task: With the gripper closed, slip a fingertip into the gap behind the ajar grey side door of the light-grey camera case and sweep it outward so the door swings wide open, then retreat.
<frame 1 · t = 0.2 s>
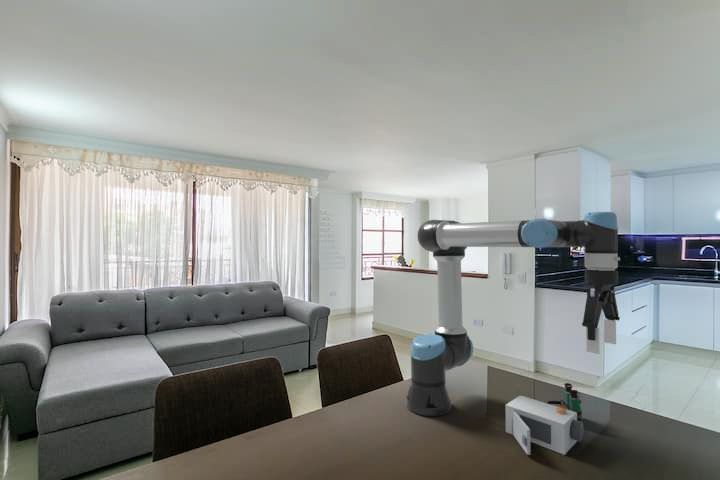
hand: (601, 347, 98), 28 cm above the table, fingers open, 13 cm apart
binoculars: (564, 420, 115), on the table
side door: (519, 431, 100), point 4 cm above the table, hinge at 45.0°
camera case: (540, 436, 105), on the table
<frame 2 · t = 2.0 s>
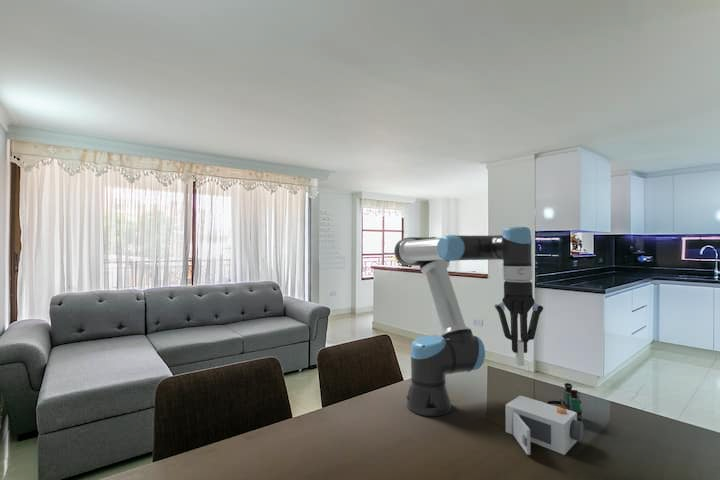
hand: (519, 364, 103), 22 cm above the table, fingers closed
nothing on the table moved.
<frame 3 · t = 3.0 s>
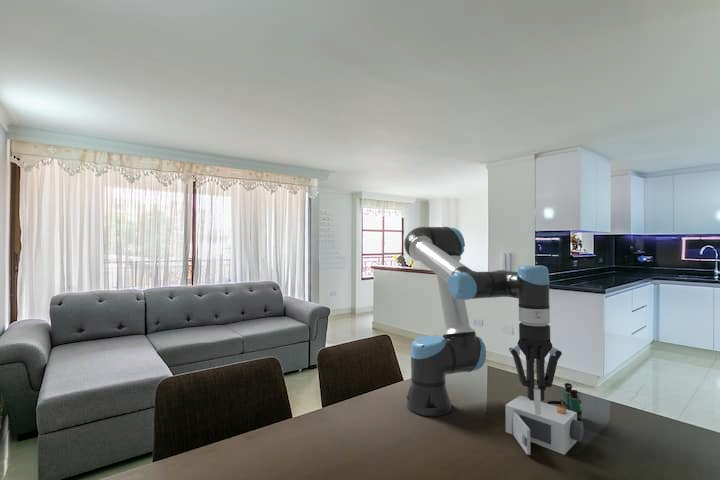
hand: (536, 412, 96), 11 cm above the table, fingers closed
nothing on the table moved.
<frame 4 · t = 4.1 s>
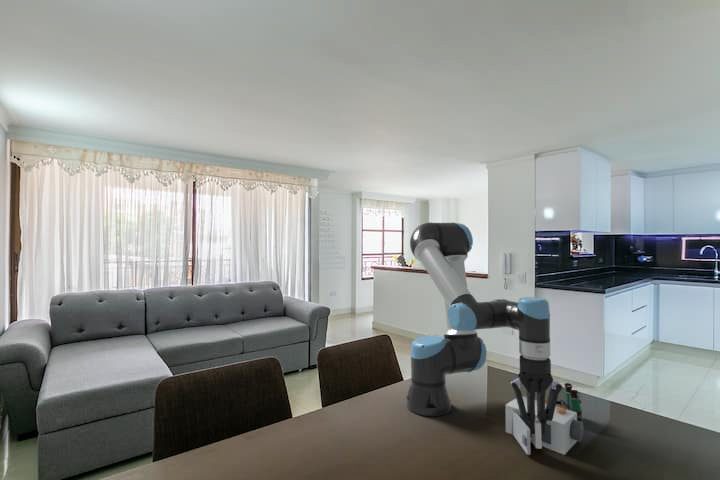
hand: (536, 445, 96), 2 cm above the table, fingers closed
side door: (519, 431, 100), point 4 cm above the table, hinge at 45.0°, touching gripper
everything else where it was.
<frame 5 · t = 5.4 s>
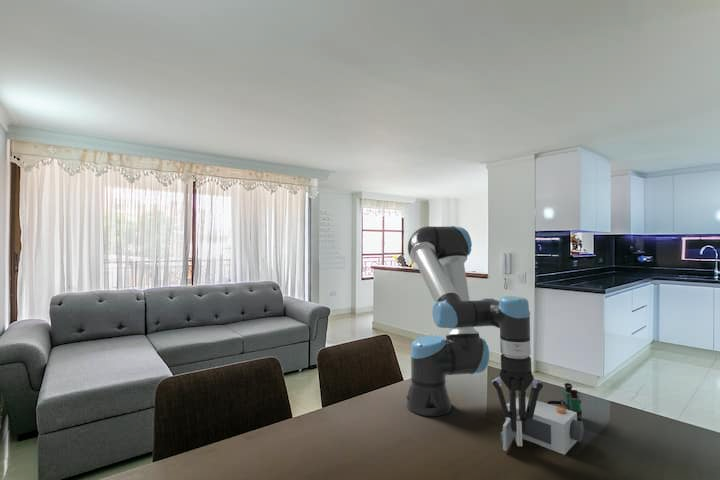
hand: (518, 443, 97), 2 cm above the table, fingers closed
side door: (508, 429, 101), point 4 cm above the table, hinge at 78.7°, touching gripper
everything else where it was.
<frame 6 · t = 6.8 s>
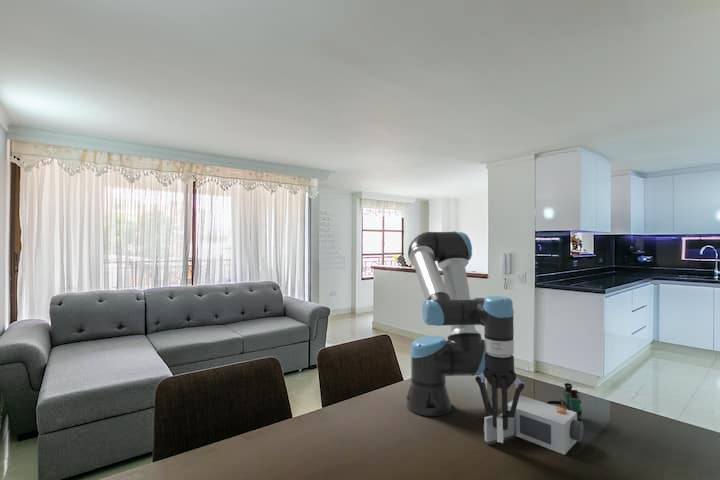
hand: (500, 440, 99), 2 cm above the table, fingers closed
side door: (500, 425, 103), point 4 cm above the table, hinge at 111.3°
everything else where it was.
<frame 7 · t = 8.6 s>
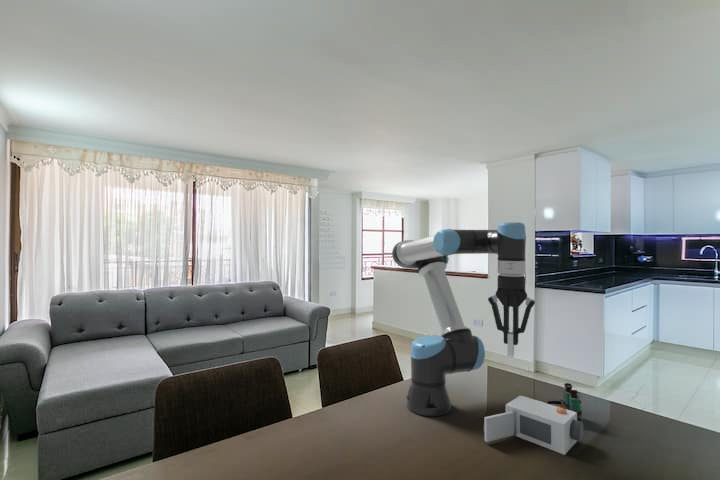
hand: (510, 355, 106), 23 cm above the table, fingers closed
nothing on the table moved.
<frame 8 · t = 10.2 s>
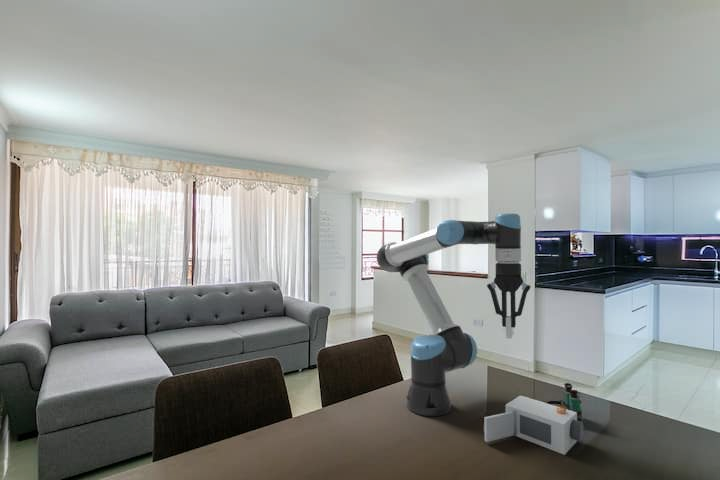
hand: (509, 337, 114), 26 cm above the table, fingers closed
nothing on the table moved.
at the end: side door at +111° (first picture: +45°) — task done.
